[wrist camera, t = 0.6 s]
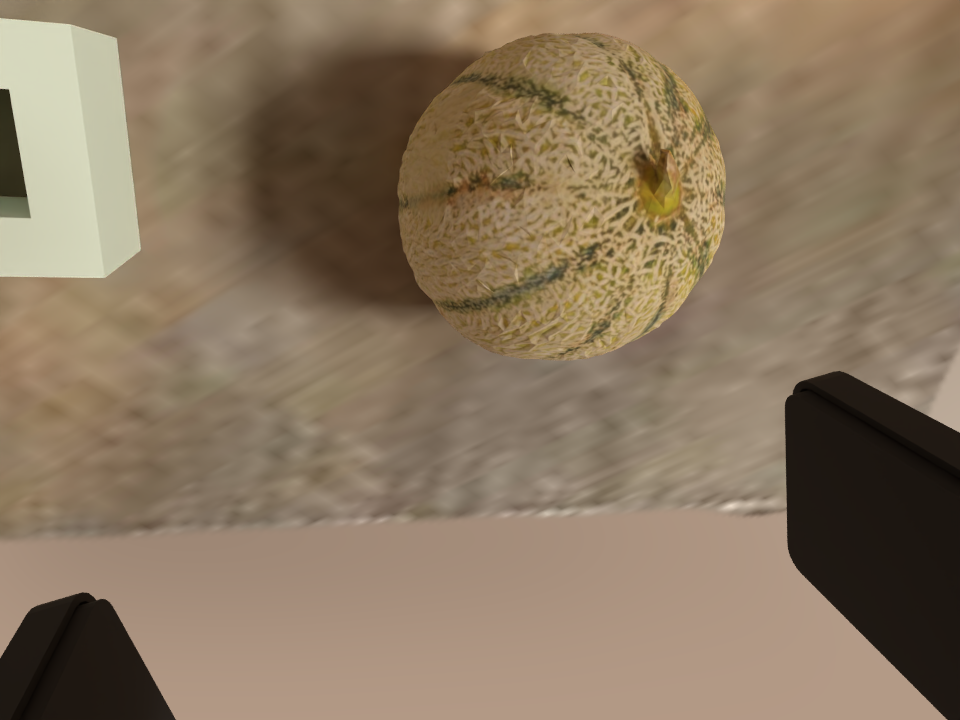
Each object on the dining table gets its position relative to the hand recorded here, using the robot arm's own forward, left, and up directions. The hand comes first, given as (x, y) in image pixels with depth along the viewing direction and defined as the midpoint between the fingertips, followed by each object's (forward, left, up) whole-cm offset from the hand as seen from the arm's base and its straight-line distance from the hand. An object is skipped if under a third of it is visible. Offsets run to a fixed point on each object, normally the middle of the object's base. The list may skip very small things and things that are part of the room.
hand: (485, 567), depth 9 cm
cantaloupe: (-2, +8, -30) cm, 31 cm away
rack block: (-3, -17, -30) cm, 34 cm away
